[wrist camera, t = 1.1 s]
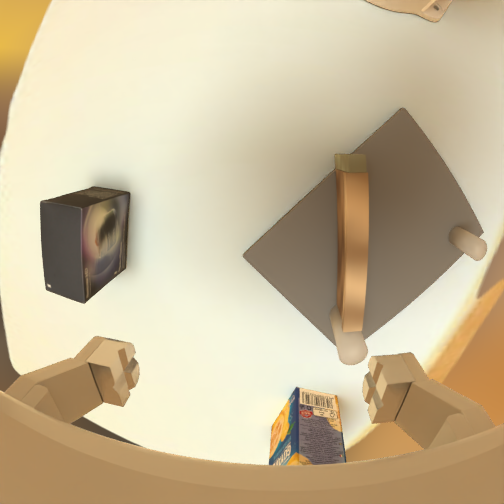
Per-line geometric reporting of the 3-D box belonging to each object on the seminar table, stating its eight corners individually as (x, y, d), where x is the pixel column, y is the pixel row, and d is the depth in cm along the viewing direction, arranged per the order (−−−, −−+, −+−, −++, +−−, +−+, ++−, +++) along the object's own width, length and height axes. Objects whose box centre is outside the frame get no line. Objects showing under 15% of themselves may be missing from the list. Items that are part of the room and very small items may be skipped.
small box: (128, 270, 37) (86, 308, 27) (90, 260, 37) (44, 291, 27) (133, 191, 33) (82, 208, 23) (91, 185, 34) (37, 200, 24)
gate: (350, 302, 33) (362, 332, 27) (334, 303, 34) (343, 334, 27) (350, 154, 28) (368, 154, 22) (332, 154, 28) (345, 154, 22)
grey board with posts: (400, 108, 27) (437, 96, 18) (479, 230, 30) (520, 252, 21) (243, 253, 34) (230, 287, 26) (343, 349, 37) (354, 396, 29)
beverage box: (271, 426, 44) (260, 539, 23) (296, 386, 40) (295, 520, 20) (308, 433, 44) (309, 542, 23) (337, 395, 40) (352, 521, 20)
